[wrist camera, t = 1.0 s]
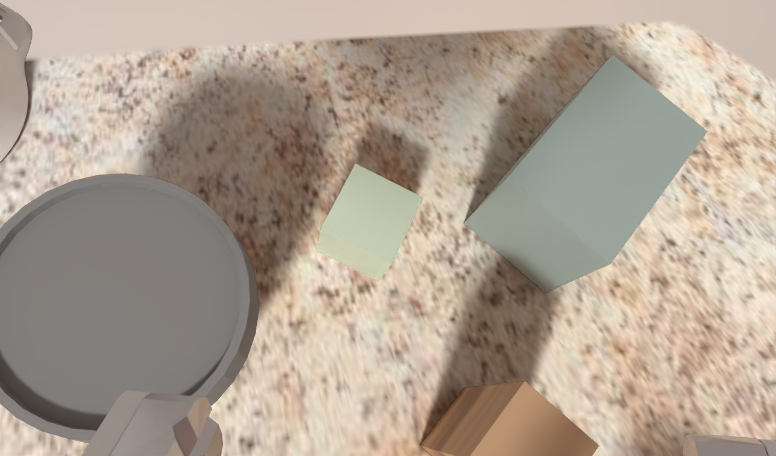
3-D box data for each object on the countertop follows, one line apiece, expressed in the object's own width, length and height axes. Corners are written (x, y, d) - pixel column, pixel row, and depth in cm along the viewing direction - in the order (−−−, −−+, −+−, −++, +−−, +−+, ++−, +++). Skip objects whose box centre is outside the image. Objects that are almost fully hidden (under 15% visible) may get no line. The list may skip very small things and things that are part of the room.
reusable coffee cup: (32, 389, 40) (-106, 379, 26) (129, 217, 44) (54, 126, 30) (215, 464, 41) (178, 494, 26) (295, 287, 45) (300, 230, 30)
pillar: (419, 445, 43) (467, 459, 32) (463, 387, 45) (525, 381, 33) (475, 495, 43) (544, 527, 31) (518, 435, 44) (599, 445, 33)
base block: (463, 223, 48) (507, 177, 38) (552, 119, 52) (612, 53, 42) (545, 292, 47) (610, 263, 38) (629, 182, 51) (707, 131, 42)
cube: (316, 250, 46) (320, 228, 40) (347, 193, 47) (355, 163, 42) (378, 281, 46) (391, 263, 40) (406, 223, 47) (423, 197, 42)
